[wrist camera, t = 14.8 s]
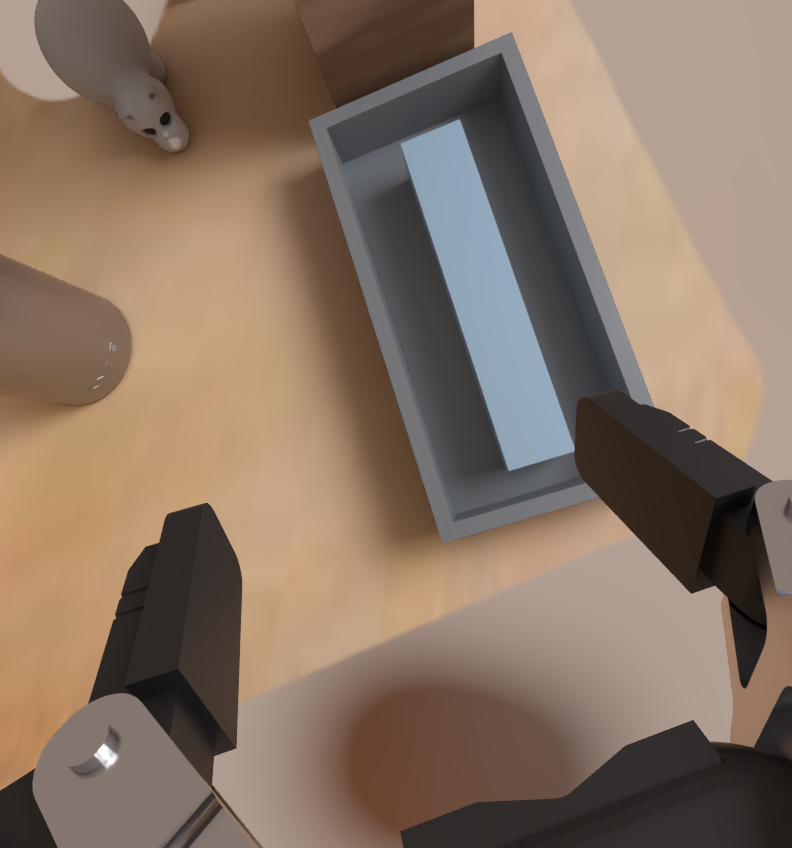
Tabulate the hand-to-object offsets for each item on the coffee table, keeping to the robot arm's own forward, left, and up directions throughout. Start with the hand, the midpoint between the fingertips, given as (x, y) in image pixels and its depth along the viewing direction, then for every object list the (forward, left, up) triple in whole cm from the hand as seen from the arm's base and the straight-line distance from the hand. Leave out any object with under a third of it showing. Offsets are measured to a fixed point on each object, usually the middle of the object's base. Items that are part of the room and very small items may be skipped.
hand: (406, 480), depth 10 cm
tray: (-4, +11, -24) cm, 27 cm away
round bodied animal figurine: (-35, +14, -24) cm, 45 cm away
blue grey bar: (-3, +10, -23) cm, 26 cm away
